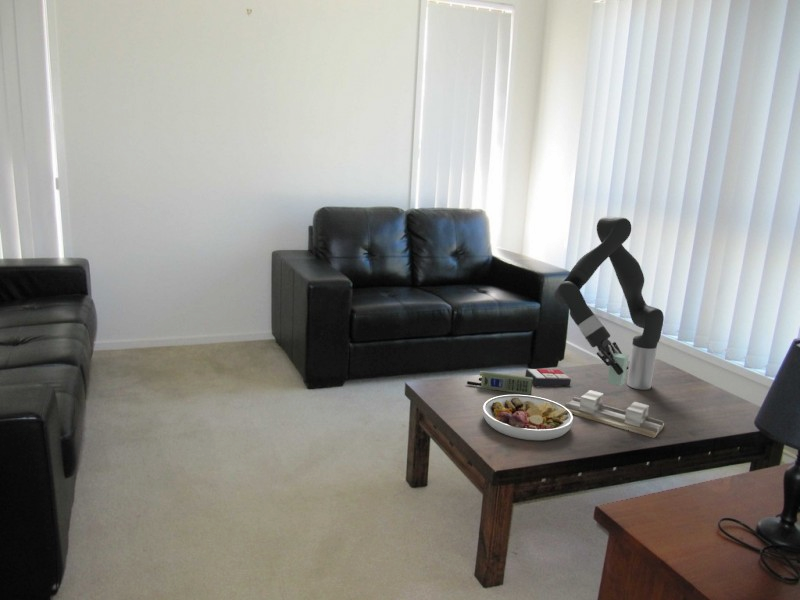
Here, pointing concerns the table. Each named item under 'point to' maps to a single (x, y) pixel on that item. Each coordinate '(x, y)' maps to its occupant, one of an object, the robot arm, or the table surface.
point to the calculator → (547, 377)
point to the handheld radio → (504, 382)
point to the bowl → (527, 417)
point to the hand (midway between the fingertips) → (623, 371)
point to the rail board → (615, 414)
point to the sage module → (622, 362)
